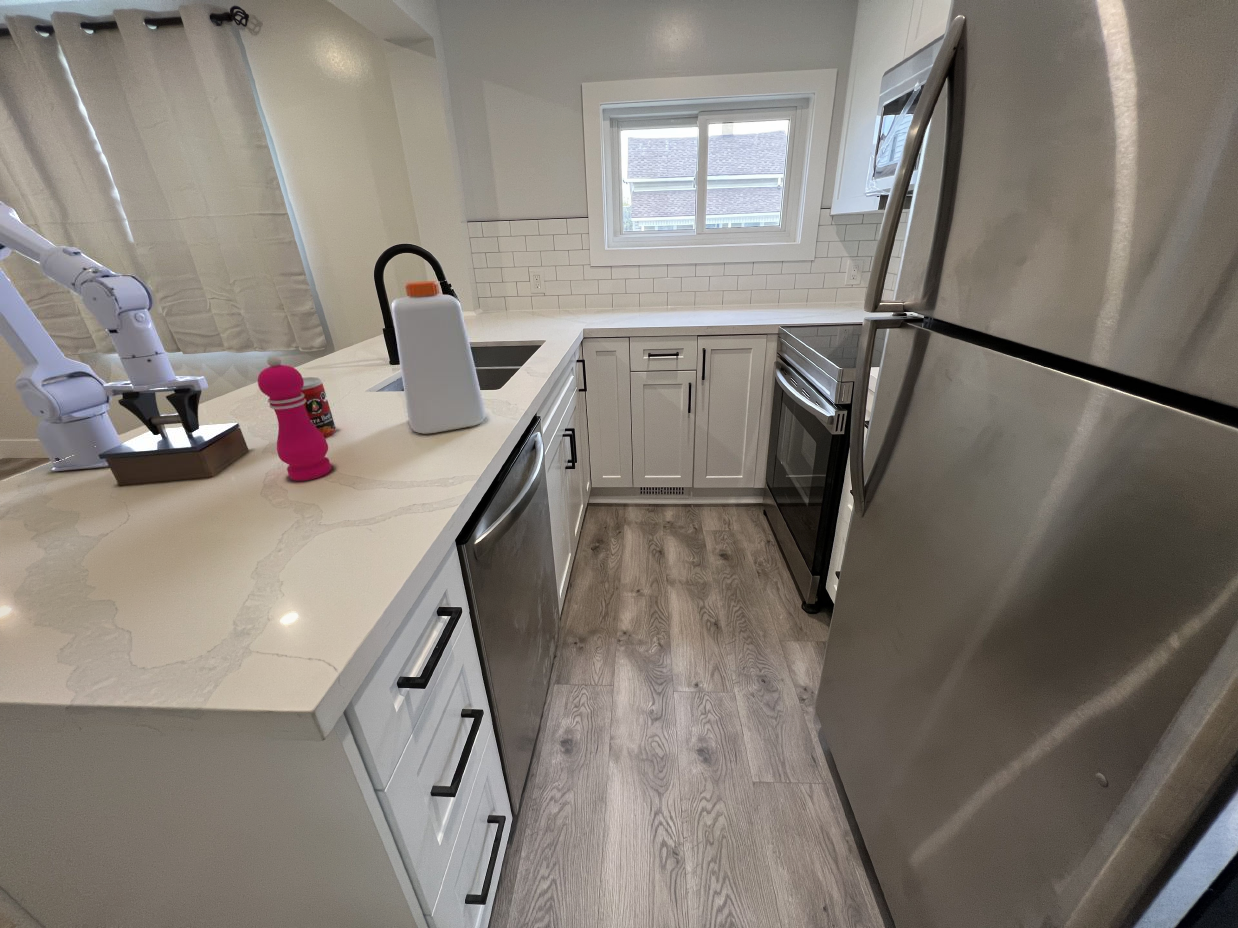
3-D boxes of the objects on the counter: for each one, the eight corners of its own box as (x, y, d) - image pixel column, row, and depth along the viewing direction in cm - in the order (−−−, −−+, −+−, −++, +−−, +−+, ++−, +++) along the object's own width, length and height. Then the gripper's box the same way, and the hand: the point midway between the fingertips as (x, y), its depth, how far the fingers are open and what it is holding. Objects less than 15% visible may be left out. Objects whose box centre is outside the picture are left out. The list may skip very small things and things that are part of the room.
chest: (212, 476, 85) (201, 451, 83) (118, 485, 83) (105, 459, 81) (249, 450, 95) (240, 427, 93) (165, 457, 93) (154, 433, 91)
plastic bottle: (408, 416, 110) (377, 282, 98) (477, 405, 115) (456, 277, 104) (413, 438, 97) (379, 288, 86) (490, 425, 103) (468, 281, 91)
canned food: (304, 444, 97) (286, 390, 92) (287, 436, 101) (269, 384, 97) (344, 432, 102) (328, 380, 98) (326, 425, 107) (310, 375, 102)
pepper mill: (313, 483, 81) (272, 361, 72) (276, 481, 82) (231, 361, 74) (344, 465, 87) (310, 350, 79) (309, 463, 88) (271, 350, 80)
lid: (198, 451, 82) (187, 424, 80) (100, 459, 80) (86, 432, 78) (240, 426, 93) (231, 403, 91) (154, 433, 91) (144, 409, 90)
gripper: (72, 363, 77) (113, 444, 83) (174, 357, 79) (207, 436, 84) (108, 353, 83) (143, 429, 89) (202, 348, 85) (230, 422, 91)
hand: (176, 432), depth 87 cm, fingers closed on lid, 5 cm apart
